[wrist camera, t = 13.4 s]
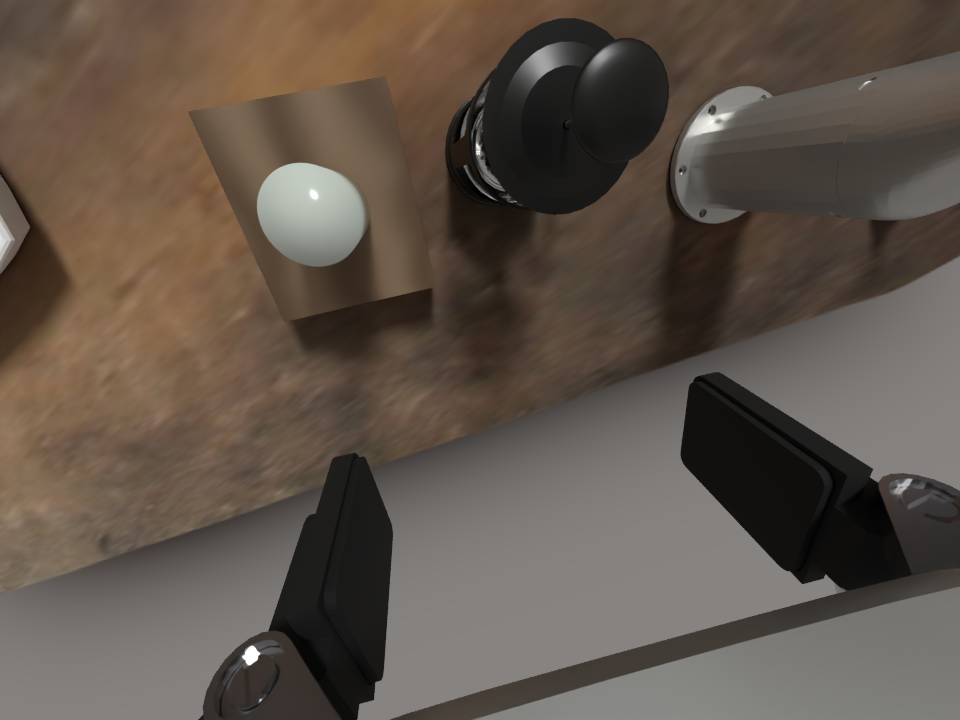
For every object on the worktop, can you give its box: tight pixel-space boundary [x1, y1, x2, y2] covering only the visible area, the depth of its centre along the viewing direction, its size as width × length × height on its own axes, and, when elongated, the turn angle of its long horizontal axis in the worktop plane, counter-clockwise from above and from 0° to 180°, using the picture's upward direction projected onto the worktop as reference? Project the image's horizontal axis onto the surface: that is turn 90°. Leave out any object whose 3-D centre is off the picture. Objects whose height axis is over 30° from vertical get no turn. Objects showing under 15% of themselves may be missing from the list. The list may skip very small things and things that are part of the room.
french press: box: [446, 18, 669, 215], centre depth 25 cm, size 12×9×23 cm
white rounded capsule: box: [257, 163, 370, 267], centre depth 26 cm, size 6×6×8 cm
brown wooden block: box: [188, 76, 437, 322], centre depth 32 cm, size 14×16×5 cm
